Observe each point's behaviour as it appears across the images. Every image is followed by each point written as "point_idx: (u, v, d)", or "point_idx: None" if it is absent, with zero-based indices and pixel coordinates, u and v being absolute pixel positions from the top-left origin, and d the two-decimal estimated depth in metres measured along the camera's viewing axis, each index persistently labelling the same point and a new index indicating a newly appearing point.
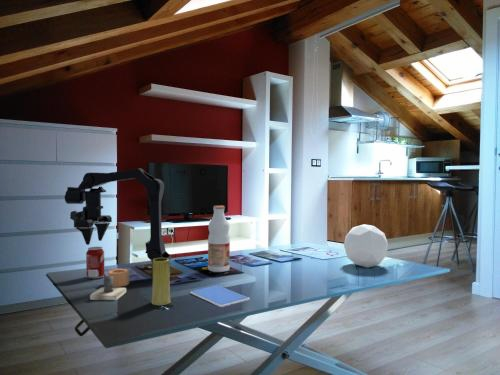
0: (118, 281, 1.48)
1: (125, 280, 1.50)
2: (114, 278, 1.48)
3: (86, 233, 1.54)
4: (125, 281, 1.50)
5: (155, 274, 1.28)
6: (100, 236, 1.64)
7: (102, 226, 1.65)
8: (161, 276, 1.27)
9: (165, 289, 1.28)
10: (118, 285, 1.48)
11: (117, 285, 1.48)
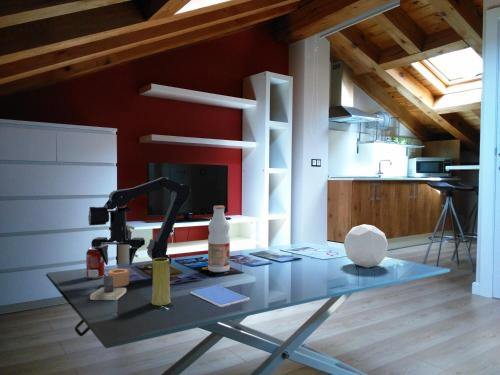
0: (118, 281, 1.48)
1: (125, 280, 1.50)
2: (114, 278, 1.48)
3: None
4: (125, 281, 1.50)
5: (155, 274, 1.28)
6: None
7: None
8: (161, 276, 1.27)
9: (165, 289, 1.28)
10: (118, 285, 1.48)
11: (117, 285, 1.48)
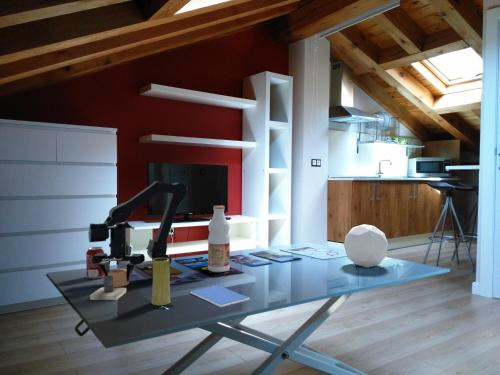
0: (118, 281, 1.48)
1: (125, 280, 1.50)
2: (114, 278, 1.48)
3: None
4: (125, 281, 1.50)
5: (155, 274, 1.28)
6: None
7: None
8: (161, 276, 1.27)
9: (165, 289, 1.28)
10: (118, 285, 1.48)
11: (117, 285, 1.48)
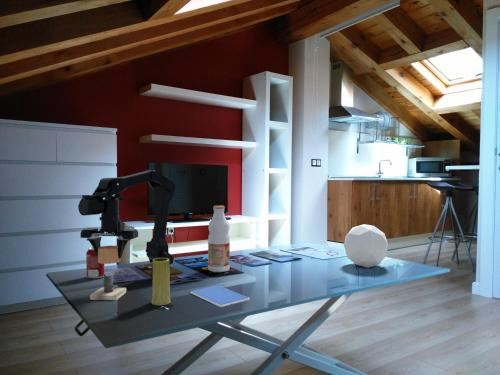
0: (109, 257, 1.36)
1: (116, 257, 1.38)
2: (104, 254, 1.36)
3: None
4: (116, 258, 1.38)
5: (155, 274, 1.28)
6: None
7: None
8: (161, 276, 1.27)
9: (165, 289, 1.28)
10: (108, 262, 1.36)
11: (107, 262, 1.36)
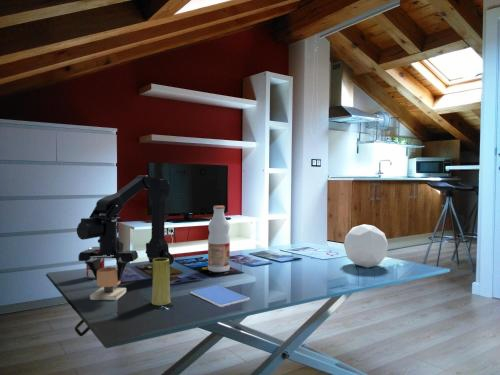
0: (108, 280, 1.34)
1: (116, 279, 1.35)
2: (103, 277, 1.34)
3: None
4: (116, 280, 1.35)
5: (155, 274, 1.28)
6: None
7: None
8: (161, 276, 1.27)
9: (165, 289, 1.28)
10: (107, 285, 1.34)
11: (107, 285, 1.34)
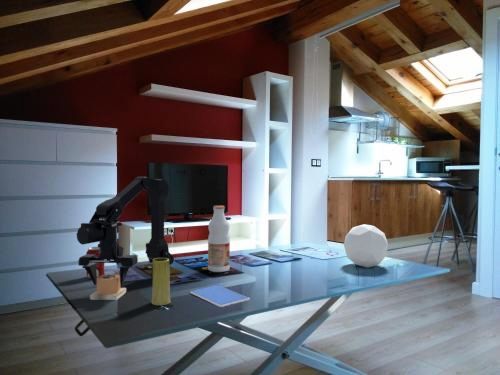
0: (108, 288, 1.34)
1: (116, 287, 1.36)
2: (104, 285, 1.34)
3: None
4: (116, 288, 1.36)
5: (155, 274, 1.28)
6: None
7: None
8: (161, 276, 1.27)
9: (165, 289, 1.28)
10: (108, 293, 1.34)
11: (107, 292, 1.34)
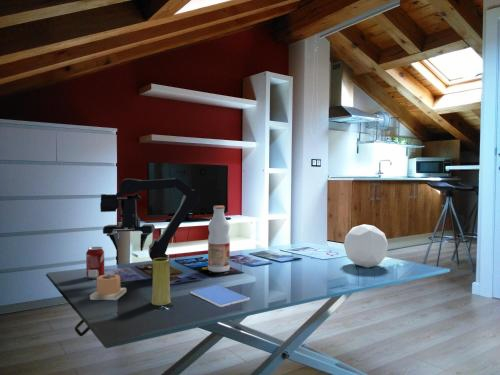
0: (108, 288, 1.34)
1: (116, 287, 1.36)
2: (104, 285, 1.34)
3: None
4: (116, 288, 1.36)
5: (155, 274, 1.28)
6: None
7: None
8: (161, 276, 1.27)
9: (165, 289, 1.28)
10: (108, 293, 1.34)
11: (107, 292, 1.34)
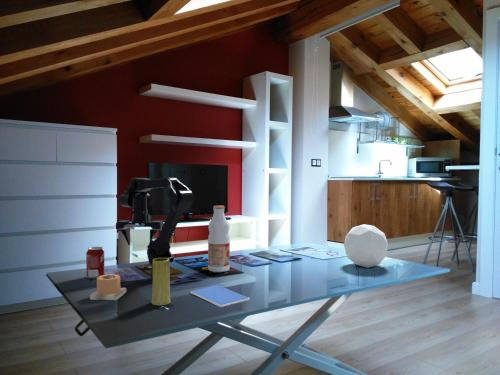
0: (108, 288, 1.34)
1: (116, 287, 1.36)
2: (104, 285, 1.34)
3: None
4: (116, 288, 1.36)
5: (155, 274, 1.28)
6: None
7: None
8: (161, 276, 1.27)
9: (165, 289, 1.28)
10: (108, 293, 1.34)
11: (107, 292, 1.34)
